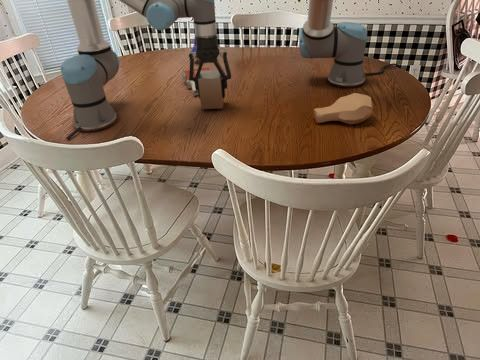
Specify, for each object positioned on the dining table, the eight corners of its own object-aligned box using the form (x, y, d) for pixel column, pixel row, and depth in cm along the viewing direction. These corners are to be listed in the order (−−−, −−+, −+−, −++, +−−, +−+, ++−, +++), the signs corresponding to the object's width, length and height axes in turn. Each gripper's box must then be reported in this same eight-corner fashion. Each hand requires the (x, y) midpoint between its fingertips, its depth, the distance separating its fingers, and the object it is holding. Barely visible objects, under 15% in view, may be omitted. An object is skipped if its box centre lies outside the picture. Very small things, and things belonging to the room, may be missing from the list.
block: (224, 99, 142) (221, 69, 135) (222, 108, 135) (220, 77, 128) (203, 100, 142) (200, 70, 135) (201, 109, 135) (197, 78, 128)
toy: (200, 58, 202) (185, 64, 180) (197, 26, 195) (181, 28, 173) (217, 58, 200) (204, 63, 177) (214, 25, 193) (200, 26, 171)
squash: (377, 125, 120) (379, 103, 114) (317, 135, 122) (317, 114, 116) (367, 107, 128) (369, 85, 121) (311, 116, 130) (311, 95, 123)
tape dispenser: (197, 100, 148) (224, 81, 161) (196, 88, 145) (223, 70, 157) (165, 91, 156) (193, 74, 168) (163, 80, 152) (192, 63, 165)
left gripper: (236, 31, 126) (239, 92, 139) (177, 34, 127) (186, 94, 140) (236, 36, 120) (239, 99, 133) (174, 39, 121) (183, 102, 134)
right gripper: (344, -57, 154) (339, -3, 167) (287, -53, 155) (286, 0, 168) (348, -56, 148) (342, 0, 161) (289, -52, 149) (287, 3, 162)
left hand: (212, 96), depth 137 cm, fingers closed on block, 8 cm apart
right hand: (313, 0), depth 164 cm, fingers open, 13 cm apart
